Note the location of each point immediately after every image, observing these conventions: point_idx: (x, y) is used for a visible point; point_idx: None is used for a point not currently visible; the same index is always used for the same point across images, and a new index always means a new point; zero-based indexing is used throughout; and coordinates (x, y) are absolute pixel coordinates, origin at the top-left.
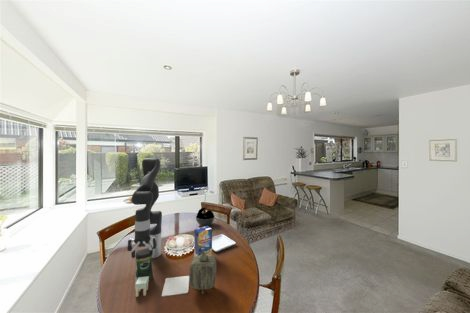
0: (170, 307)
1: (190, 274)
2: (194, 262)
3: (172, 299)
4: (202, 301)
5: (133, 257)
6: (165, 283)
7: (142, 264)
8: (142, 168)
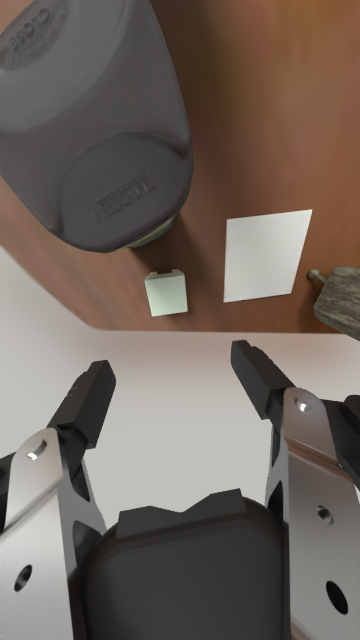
0: (246, 330)
1: (356, 339)
2: None
3: (250, 310)
4: (312, 318)
5: (110, 389)
6: (229, 251)
7: (138, 243)
8: None
